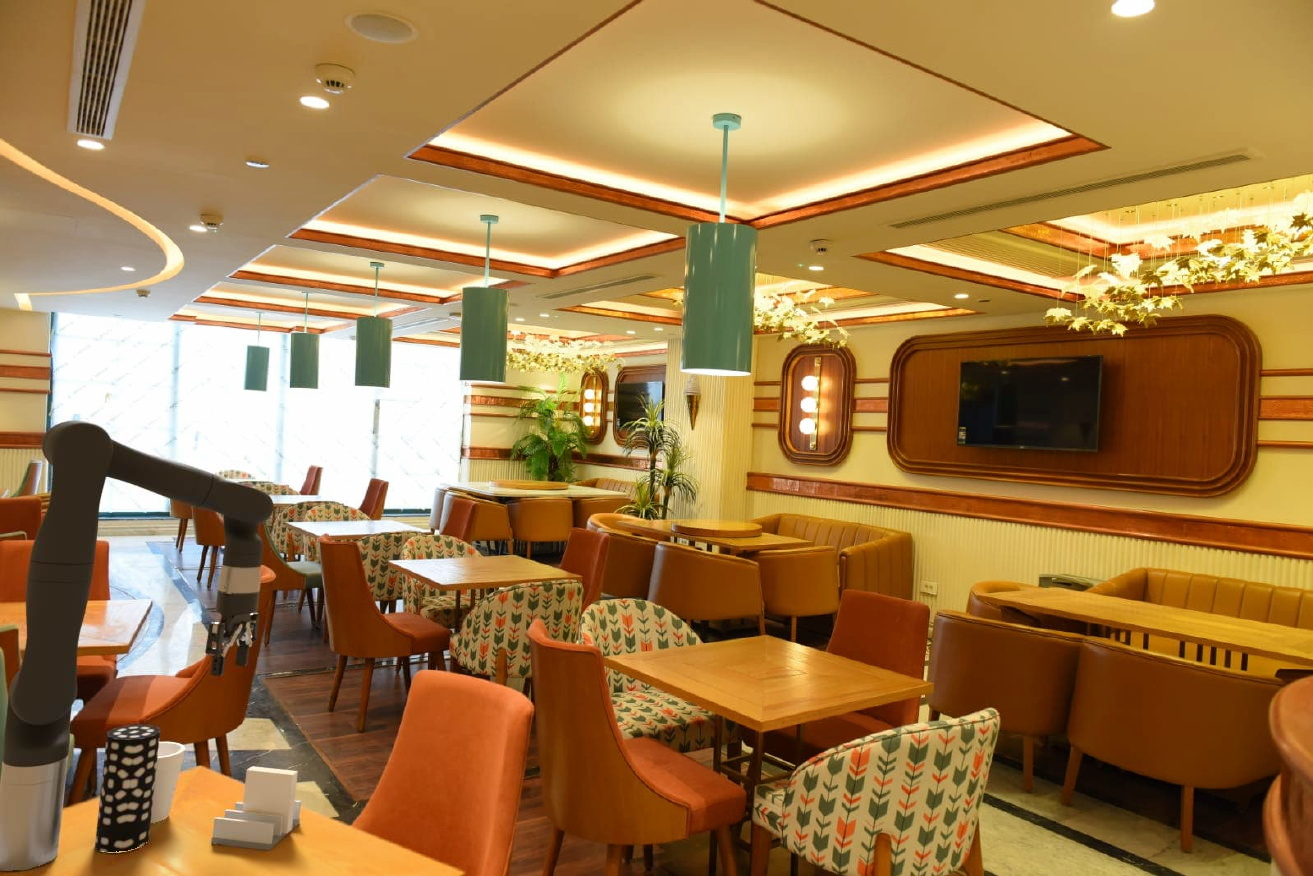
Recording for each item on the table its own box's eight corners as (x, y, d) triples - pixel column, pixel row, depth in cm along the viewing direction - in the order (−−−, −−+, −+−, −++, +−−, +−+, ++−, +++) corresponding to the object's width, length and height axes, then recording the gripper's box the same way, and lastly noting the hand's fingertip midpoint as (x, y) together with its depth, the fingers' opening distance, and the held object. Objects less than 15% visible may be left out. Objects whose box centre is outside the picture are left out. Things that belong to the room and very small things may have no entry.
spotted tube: (123, 857, 150) (135, 742, 151) (83, 849, 152) (95, 735, 152) (159, 838, 158) (171, 729, 159) (121, 830, 160) (132, 722, 160)
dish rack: (210, 843, 158) (213, 819, 158) (245, 817, 170) (247, 794, 170) (269, 850, 157) (271, 825, 157) (299, 823, 169) (301, 800, 169)
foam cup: (187, 817, 167) (194, 750, 168) (137, 832, 160) (145, 762, 160) (161, 803, 172) (168, 738, 173) (112, 817, 165) (119, 749, 165)
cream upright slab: (240, 828, 163) (246, 770, 163) (246, 824, 165) (252, 766, 165) (287, 833, 162) (292, 775, 163) (291, 829, 164) (297, 771, 165)
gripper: (240, 581, 177) (231, 660, 177) (199, 590, 163) (189, 676, 163) (275, 585, 177) (266, 664, 176) (237, 595, 163) (227, 681, 162)
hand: (229, 670), depth 169 cm, fingers open, 8 cm apart
